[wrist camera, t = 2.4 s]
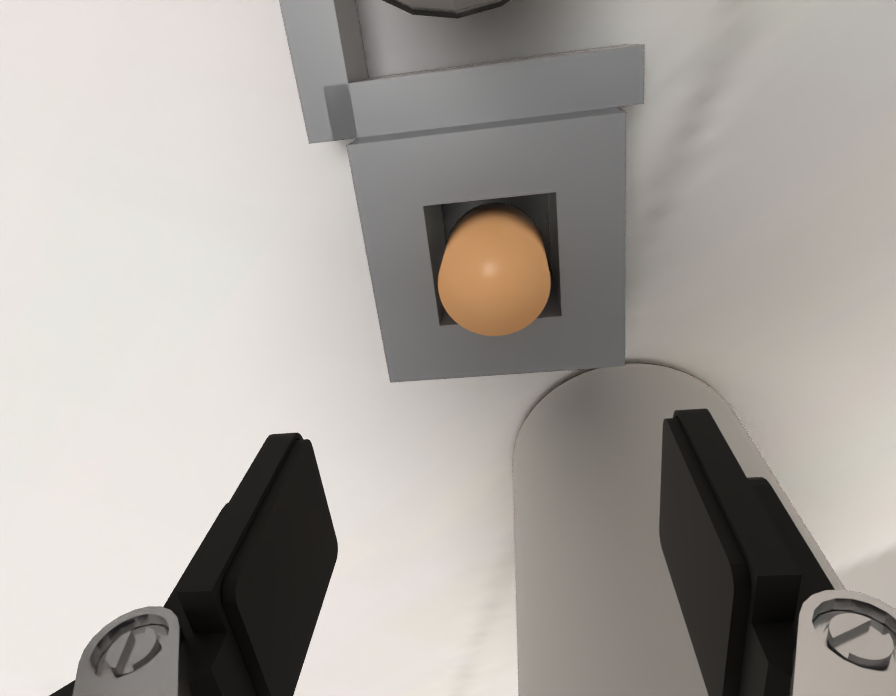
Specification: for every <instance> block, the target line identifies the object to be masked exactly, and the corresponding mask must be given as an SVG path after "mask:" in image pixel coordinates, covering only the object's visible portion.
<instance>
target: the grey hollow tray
mask: <svg viewBox="0 0 896 696" xmlns="http://www.w3.org/2000/svg"><path fill="white" fill-rule="evenodd" d="M279 2H280V7H281V12H282V17H283V21H284V26H285V31H286V36H287V40H288V45H289V50H290V55H291V59H292V64H293V69H294V74H295V79H296V83H297V88H298V93H299V98H300V102H301V107H302V112H303V117H304V121H305V126H306V131H307V136H308V140H309V144H311V143H319V142H328V141H336V140H344V139H353V138H357V139H355V140H354V141H352V142H351V143H349V144H348V145H346V146H347V151H348V157H349V162H350V167H351V173H352V178H353V184H354V189H355V194H356V200H357V205H358V211H359V216H360V221H361V227H362V232H363V238H364V243H365V248H366V254H367V259H368V265H369V270H370V275H371V281H372V286H373V292H374V297H375V302H376V308H377V313H378V319H379V324H380V329H381V335H382V340H383V346H384V351H385V356H386V362H387V367H388V373H389V378H390V382H404V381H418V380H433V379H447V378H462V377H476V376H491V375H505V374H520V373H534V372H549V371H563V370H578V369H592V368H607V367H621V366H625V193H626V112H624V111H623V110H621V109H619V108H617V107H621V106H629V105H637V104H644V45H632V44H624V45H617V46H609V47H601V48H594V49H586V50H579V51H571V52H563V53H556V54H548V55H541V56H533V57H525V58H518V59H510V60H503V61H495V62H487V63H480V64H472V65H464V66H457V67H449V68H442V69H434V70H426V71H419V72H411V73H404V74H396V75H388V76H381V77H373V78H368V73H367V67H366V60H365V54H364V48H363V42H362V36H361V30H360V24H359V17H358V11H357V5H356V0H279ZM544 193H547V199H548V219H549V239H550V258H551V268H549V272H550V279H551V287H550V294H549V297H548V300H547V303H546V305H545V307H544V309H543V310H542V312H541V313H540V315H539V316H538V317H537V318H536V319H535V320H534V321H533V322H532V323H531V324H529V325H528V326H526V327H525V328H523V329H521V330H519V331H517V332H514V333H512V334H508V335H502V336H485V335H480V334H477V333H474V332H471V331H469V330H467V329H465V328H463V327H462V326H460V325H459V324H458V323H456V322H455V321H454V320H453V319H452V318H451V317H450V316H449V314H448V313H447V311H446V310H445V308H444V306H443V304H442V302H441V299H440V296H439V291H438V276H439V271H440V267H441V263H442V260H443V256H444V252H445V249H446V239H445V231H444V223H443V215H442V207H441V204H448V203H457V202H467V201H476V200H486V199H496V198H505V197H515V196H524V195H534V194H544Z"/></svg>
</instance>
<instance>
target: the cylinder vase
mask: <svg viewBox="0 0 896 696" xmlns="http://www.w3.org/2000/svg"><path fill="white" fill-rule="evenodd" d="M703 408H706V409H708V410H709V412H710V413H711V415H712V417H713V419H714V420H715V422H716V424H717V426H718V427H719V429H720V431H721V433H722V434H723V436H724V438H725V440H726V442H727V443H728V445H729V447H730V449H731V450H732V452H733V454H734V456H735V457H736V459H737V461H738V463H739V464H740V466H741V468H742V470H743V471H744V473H745V475H746V477H747V478H749V477H763V478H765V479H767V481H768V482H769V483H770V484H771V486H772V487H773V489H774V491H775V492H776V494H777V496H778V497H779V499H780V501H781V502H782V504H783V505H784V507H785V509H786V510H787V512H788V514H789V515H790V517H791V518H792V520H793V522H794V523H795V525H796V527H797V528H798V530H799V532H800V533H801V535H802V536H803V538H804V540H805V541H806V543H807V545H808V546H809V548H810V550H811V551H812V553H813V554H814V556H815V558H816V559H817V561H818V563H819V564H820V566H821V567H822V569H823V571H824V572H825V574H826V576H827V577H828V579H829V581H830V582H831V584H832V585H833V587H834V589H835V590H846V589H845V587H844V586H843V585H842V583H841V581H840V579H839V578H838V576H837V575H836V573H835V572H834V570H833V568H832V567H831V565H830V564H829V562H828V560H827V559H826V557H825V556H824V554H823V553H822V551H821V549H820V548H819V546H818V545H817V543H816V541H815V540H814V538H813V537H812V535H811V534H810V532H809V530H808V529H807V527H806V526H805V524H804V522H803V521H802V519H801V518H800V516H799V515H798V513H797V511H796V510H795V508H794V507H793V505H792V503H791V502H790V500H789V499H788V497H787V496H786V494H785V492H784V491H783V489H782V488H781V486H780V484H779V483H778V481H777V480H776V478H775V477H774V475H773V473H772V472H771V470H770V469H769V467H768V465H767V464H766V462H765V461H764V459H763V458H762V456H761V454H760V453H759V451H758V450H757V448H756V446H755V445H754V443H753V442H752V440H751V439H750V437H749V435H748V434H747V432H746V431H745V429H744V427H743V426H742V424H741V423H740V421H739V419H738V418H737V416H736V415H735V413H734V412H733V410H732V409H731V407H730V406H729V405H728V403H727V402H726V401H725V400H724V399H723V398H722V397H721V396H720V395H719V394H718V393H717V392H716V391H715V390H713V389H712V388H711V387H710V386H708V385H707V384H705V383H704V382H702V381H700V380H699V379H697V378H695V377H693V376H691V375H689V374H686V373H684V372H681V371H678V370H675V369H672V368H668V367H664V366H659V365H651V364H625V366H621V367H607V368H598V369H594V370H591V371H588V372H585V373H583V374H580V375H578V376H576V377H574V378H572V379H570V380H568V381H566V382H564V383H563V384H561V385H560V386H558V387H557V388H555V389H554V390H552V391H551V392H550V393H549V394H548V395H546V396H545V397H544V398H543V399H542V400H541V401H540V402H539V403H538V404H537V405H536V406H535V408H534V409H533V410H532V411H531V413H530V414H529V415H528V417H527V418H526V420H525V422H524V423H523V425H522V427H521V429H520V432H519V434H518V437H517V440H516V443H515V447H514V452H513V464H512V465H513V503H514V541H515V579H516V616H517V654H518V692H519V696H708V692H707V689H706V686H705V683H704V680H703V677H702V674H701V670H700V667H699V664H698V661H697V658H696V655H695V652H694V648H693V645H692V642H691V639H690V636H689V633H688V630H687V626H686V623H685V620H684V617H683V614H682V611H681V608H680V604H679V601H678V598H677V595H676V592H675V589H674V586H673V582H672V579H671V576H670V573H669V570H668V567H667V564H666V560H665V557H664V554H663V551H662V548H661V543H660V536H659V516H660V488H661V460H662V432H663V421H664V419H666V418H673V414H674V411H675V410H687V409H703Z"/></svg>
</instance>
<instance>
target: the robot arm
mask: <svg viewBox="0 0 896 696" xmlns="http://www.w3.org/2000/svg"><path fill="white" fill-rule="evenodd" d="M659 536H660V543H661V548H662V551H663V554H664V557H665V560H666V564H667V567H668V570H669V573H670V576H671V579H672V582H673V586H674V589H675V592H676V595H677V598H678V601H679V604H680V608H681V611H682V614H683V617H684V620H685V623H686V626H687V630H688V633H689V636H690V639H691V642H692V645H693V648H694V652H695V655H696V658H697V661H698V664H699V667H700V670H701V674H702V677H703V680H704V683H705V686H706V689H707V692H708V696H896V609H895V608H893V607H892V606H890V605H888V604H887V603H885V602H883V601H881V600H880V599H877V598H874V597H871V596H869V595H866V594H863V593H860V592H854V591H848V590H835V589H834V587H833V585H832V584H831V582H830V581H829V579H828V577H827V576H826V574H825V572H824V571H823V569H822V567H821V566H820V564H819V563H818V561H817V559H816V558H815V556H814V554H813V553H812V551H811V550H810V548H809V546H808V545H807V543H806V541H805V540H804V538H803V536H802V535H801V533H800V532H799V530H798V528H797V527H796V525H795V523H794V522H793V520H792V518H791V517H790V515H789V514H788V512H787V510H786V509H785V507H784V505H783V504H782V502H781V501H780V499H779V497H778V496H777V494H776V492H775V491H774V489H773V487H772V486H771V484H770V483H769V482H768V481H767V479H765V478H763V477H749V478H747V477H746V475H745V473H744V471H743V470H742V468H741V466H740V464H739V463H738V461H737V459H736V457H735V456H734V454H733V452H732V450H731V449H730V447H729V445H728V443H727V442H726V440H725V438H724V436H723V434H722V433H721V431H720V429H719V427H718V426H717V424H716V422H715V420H714V419H713V417H712V415H711V413H710V412H709V410H708V409H706V408H703V409H687V410H675V411H674V414H673V418H666V419H664V421H663V432H662V460H661V488H660V516H659ZM337 553H338V544H337V539H336V535H335V531H334V527H333V523H332V519H331V516H330V512H329V508H328V504H327V500H326V496H325V493H324V489H323V485H322V481H321V477H320V473H319V470H318V466H317V462H316V458H315V454H314V450H313V447H312V444H311V442H310V440H308V439H305V440H303V438H302V436H301V435H300V434H299V433H285V434H272V435H269V436H268V438H267V439H266V441H265V443H264V444H263V446H262V448H261V449H260V451H259V453H258V454H257V456H256V458H255V459H254V461H253V463H252V464H251V466H250V468H249V469H248V471H247V473H246V475H245V476H244V478H243V480H242V481H241V483H240V485H239V486H238V488H237V490H236V491H235V493H234V495H233V496H232V498H231V500H230V501H229V503H227V504H226V505H225V506H224V507H223V509H222V510H221V512H220V513H219V515H218V517H217V518H216V520H215V522H214V523H213V525H212V527H211V528H210V530H209V532H208V533H207V535H206V537H205V538H204V540H203V542H202V543H201V545H200V547H199V548H198V550H197V552H196V553H195V555H194V557H193V558H192V560H191V562H190V563H189V565H188V567H187V568H186V570H185V572H184V573H183V575H182V577H181V578H180V580H179V582H178V583H177V585H176V587H175V588H174V590H173V592H172V593H171V595H170V597H169V598H168V600H167V602H166V603H165V605H164V607H145V608H140V609H136V610H133V611H131V612H129V613H126V614H124V615H122V616H120V617H118V618H117V619H115V620H114V621H112V622H111V623H109V624H108V625H106V626H105V627H104V628H103V629H102V630H101V631H100V632H98V633H97V634H96V635H95V636H94V637H93V638H92V640H91V641H90V642H89V644H88V645H87V647H86V648H85V649H84V651H83V654H82V656H81V659H80V661H79V665H78V670H77V675H76V680H74V681H73V682H71V683H69V684H68V685H66V686H64V687H63V688H61V689H60V690H58V691H56V692H55V693H53V694H51V695H50V696H293V694H294V691H295V688H296V685H297V682H298V679H299V676H300V672H301V669H302V666H303V663H304V660H305V657H306V654H307V651H308V647H309V644H310V641H311V638H312V635H313V632H314V629H315V625H316V622H317V619H318V616H319V613H320V610H321V607H322V604H323V600H324V597H325V594H326V591H327V588H328V585H329V582H330V578H331V575H332V572H333V569H334V566H335V563H336V559H337Z"/></svg>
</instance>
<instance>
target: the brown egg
mask: <svg viewBox="0 0 896 696" xmlns="http://www.w3.org/2000/svg"><path fill="white" fill-rule="evenodd" d="M550 287H551V279H550V272H549V267H548V263H547V258H546V253H545V248H544V244H543V239H542V235H541V233H540V230H539V228H538V227H537V225H536V223H535V222H534V221H533V220H532V218H531V217H530V216H528V215H527V214H526V213H525V212H523V211H522V210H520V209H518V208H516V207H514V206H511V205H508V204H503V203H489V204H483V205H480V206H477V207H475V208H473V209H471V210H469V211H468V212H466V213H465V214H464V215H463V216H461V217H460V219H459V220H458V221H457V222H456V223H455V225H454V226H453V228H452V230H451V232H450V235H449V238H448V241H447V245H446V249H445V252H444V256H443V260H442V263H441V267H440V271H439V276H438V291H439V296H440V299H441V302H442V304H443V306H444V308H445V310H446V311H447V313H448V314H449V316H450V317H451V318H452V319H453V320H454V321H455V322H456V323H458V324H459V325H460V326H462V327H463V328H465V329H467V330H469V331H471V332H474V333H477V334H480V335H485V336H502V335H508V334H512V333H514V332H517V331H519V330H521V329H523V328H525V327H526V326H528V325H529V324H531V323H532V322H533V321H534V320H535V319H536V318H537V317H538V316H539V315H540V313H541V312H542V310H543V309H544V307H545V305H546V303H547V300H548V297H549V294H550Z"/></svg>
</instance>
